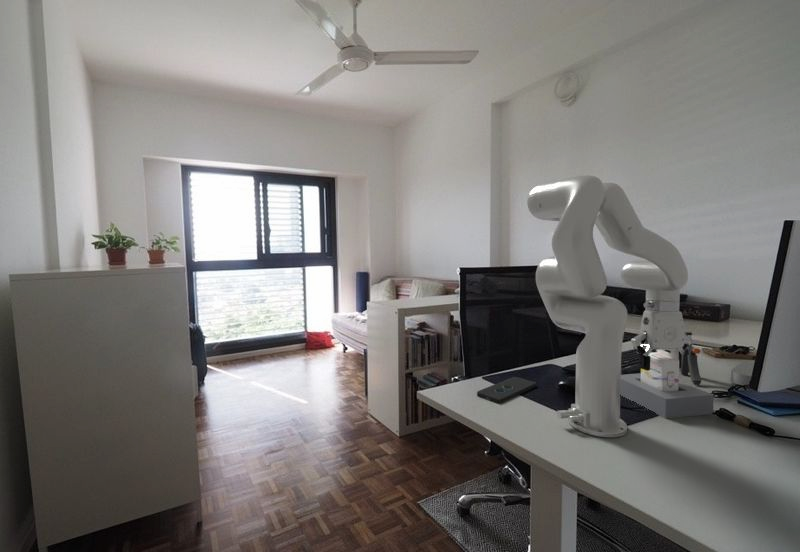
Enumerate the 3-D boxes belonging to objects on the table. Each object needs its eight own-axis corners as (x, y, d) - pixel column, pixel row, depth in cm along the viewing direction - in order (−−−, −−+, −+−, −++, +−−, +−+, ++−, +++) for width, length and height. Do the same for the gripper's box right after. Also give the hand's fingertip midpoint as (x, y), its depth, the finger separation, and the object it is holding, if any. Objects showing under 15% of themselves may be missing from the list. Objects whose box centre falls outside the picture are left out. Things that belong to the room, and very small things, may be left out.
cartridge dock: (665, 418, 93) (665, 399, 92) (613, 391, 111) (613, 375, 110) (712, 413, 95) (713, 394, 95) (654, 388, 113) (654, 372, 112)
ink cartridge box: (638, 392, 107) (640, 342, 106) (655, 391, 108) (656, 341, 107) (661, 404, 99) (663, 350, 98) (679, 403, 99) (680, 349, 98)
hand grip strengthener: (693, 386, 114) (695, 338, 113) (679, 373, 126) (680, 329, 125) (702, 387, 113) (704, 338, 112) (687, 374, 125) (689, 330, 124)
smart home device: (475, 391, 109) (514, 375, 122) (475, 397, 110) (513, 380, 122) (499, 399, 103) (537, 382, 116) (499, 405, 103) (537, 387, 116)
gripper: (645, 309, 96) (643, 374, 97) (702, 307, 99) (699, 370, 100) (623, 305, 103) (621, 365, 104) (677, 303, 106) (674, 362, 107)
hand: (659, 368), depth 102 cm, fingers open, 9 cm apart
